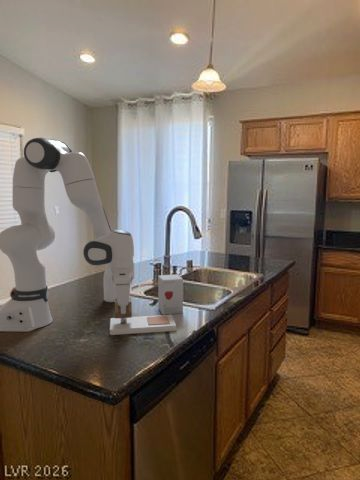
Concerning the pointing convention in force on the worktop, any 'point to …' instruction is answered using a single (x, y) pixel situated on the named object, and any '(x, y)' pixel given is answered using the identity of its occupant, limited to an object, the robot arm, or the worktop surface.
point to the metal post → (123, 320)
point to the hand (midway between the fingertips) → (123, 309)
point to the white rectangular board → (139, 325)
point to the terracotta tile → (158, 320)
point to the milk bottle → (108, 286)
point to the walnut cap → (128, 310)
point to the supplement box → (170, 294)
